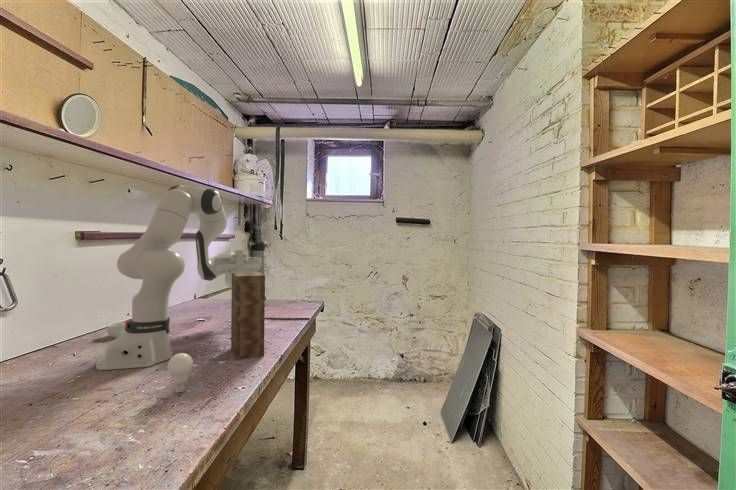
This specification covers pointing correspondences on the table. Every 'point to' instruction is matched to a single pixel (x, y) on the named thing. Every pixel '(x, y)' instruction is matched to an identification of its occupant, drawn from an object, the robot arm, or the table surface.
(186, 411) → the table surface
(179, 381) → the lightbulb
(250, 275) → the upright wooden block
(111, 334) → the teacup
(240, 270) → the pale green stepped block
